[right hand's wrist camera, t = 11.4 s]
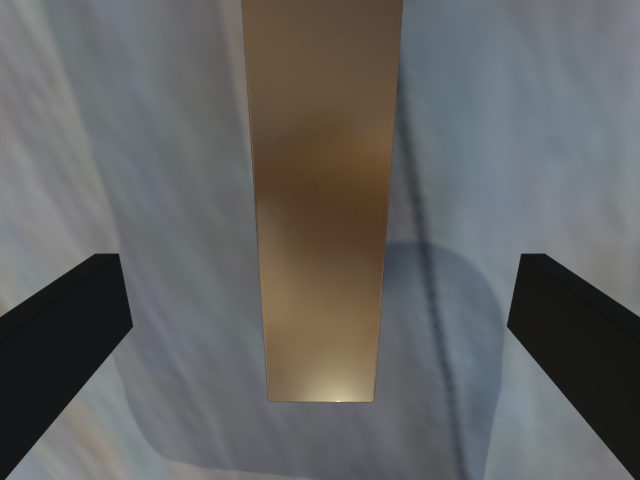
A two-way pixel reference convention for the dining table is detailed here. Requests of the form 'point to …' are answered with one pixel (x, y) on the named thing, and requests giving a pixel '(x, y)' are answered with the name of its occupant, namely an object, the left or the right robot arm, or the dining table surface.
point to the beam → (321, 187)
